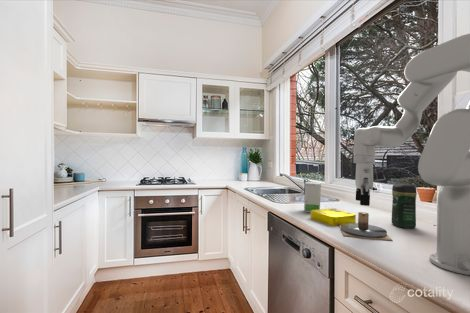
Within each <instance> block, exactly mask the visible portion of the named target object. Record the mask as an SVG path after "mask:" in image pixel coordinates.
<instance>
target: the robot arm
mask: <svg viewBox="0 0 470 313" xmlns="http://www.w3.org/2000/svg"><path fill="white" fill-rule="evenodd" d="M460 71H463V72H467V73H470V33H467V34H462V35H460V36H457V37H454V38H451V39H450V40H447V41H445V42H443V43H439V44H437V45H435V46H432V47H430V48H427V49H425V50H423V51H420V52H419V53H418V54H416V55H415V56H413V57H412V58H411V59H410V60H409V61H408V62H407V63H406V65H405V67H404V70H403V72H404V73H403V74H404V78H405V79H406V80H407V81H408V82H409V83H408V85H407V86H406V87H405V88H404V90H402V92H401V93H400V94H399V95H398V97H397V103H398V105H399V106H400V107H401V108H402V110H403V114H402V116H401V118H400V119H399V120H398V121H397V123H396V124H395V125H394V126H383V125H374V126H370V127H361V128H357V129H355V131H354V138H353V139H354V141H353V142H354V143H353V162H352V163H353V164H355V187H356V188H355V200H356V201H358V202H359V205H360V206H367V207H369V206H370V204H371V202H370V200H371V190H373V189H374V167H373V166H374V165H375V163H376V148H397V147H401V146H402V145H403V144H405V142H407V141H408V140H409V139H410V138H411V137H412V136H413V135H414V133H416V131H417V130H418V129H419V127H420V124H421V121H422V118H423V112H424V111H425V110H426V108H427V107H428V106H429V105H430V104H431V103H433V101H434V100H435V99H436V98H437V97H438V96H439V95H440V93H442V91H443V90H444V89H445V88H446V87H447V86H448V85H449V84H450V83H451V82H452V81H453V79H454V78H455V77H456V76H457V74H458V72H460ZM417 171H418V174H419V176H420V178H421V179H422V180H423V182H425V183H427V184H429V185H432V186H438V187H440V188H439V191H438V195H437V207H436V253H432V254H430V255H429V261H430V263H432V264H433V265H435V266H437V267H439V268H441V269H444V270H447V271H449V272H454V273H457V274H461V275H466V276H470V101H469V102H468V104H467V106H466V107H465V108H456V109H451V110H449V111H447V112H445V113H443V114H442V115H441V116H440V117H439V118H438V119H437V120H436V121H435V123H434V125H433V126H432V128H431V131H430V134H429V135H428V138H427V139H426V142H425V145H424V147H423V150H422V152H421V154H420V157H419V159H418V164H417Z"/></svg>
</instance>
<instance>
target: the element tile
mask: <svg viewBox="0 0 470 313" xmlns="http://www.w3.org/2000/svg"><path fill="white" fill-rule="evenodd" d="M356 218H357V217H356V214H355V213H353V212H349V211H345V210H340V209H338V208H334V207H331V208H320V209H317V210H311V212H310V219H311V220H313V221H316V222H320V223H321V224H325V225H328V226H331V227H332V226H334V227H336V226H338V227H339V224H341V225H342V224H346V223H357V222H356V221H357V219H356Z"/></svg>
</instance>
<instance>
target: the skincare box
mask: <svg viewBox="0 0 470 313" xmlns="http://www.w3.org/2000/svg"><path fill="white" fill-rule="evenodd" d="M304 184H305V186H304V201H303V202H304V206H303V212H304V213H311V210H317V209H321V195H322V194H321V190H322V184H321V182H310V181H305V183H304Z"/></svg>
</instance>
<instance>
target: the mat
mask: <svg viewBox="0 0 470 313" xmlns="http://www.w3.org/2000/svg"><path fill="white" fill-rule="evenodd" d="M338 227H339V228H340V231H341V234H342V235H343V237H349V238H358V239H359V238H360V239H369V240H380V241H388V242H390V241H391V242H393V239H392V238H391V236H389V234H387V236H385V237H382V238H368V237H360V236H355V235H351V234H348V233H346V232H344V231H342V230H341V224H339V225H338Z"/></svg>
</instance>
